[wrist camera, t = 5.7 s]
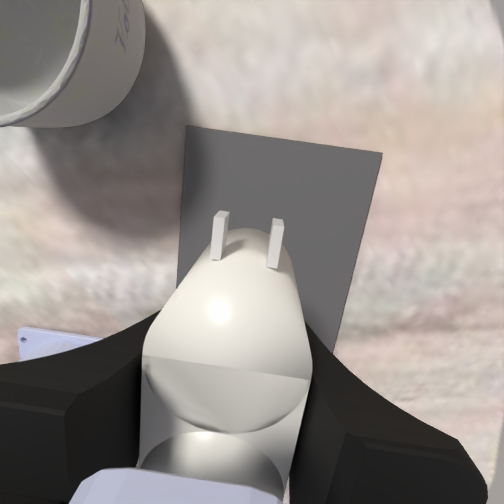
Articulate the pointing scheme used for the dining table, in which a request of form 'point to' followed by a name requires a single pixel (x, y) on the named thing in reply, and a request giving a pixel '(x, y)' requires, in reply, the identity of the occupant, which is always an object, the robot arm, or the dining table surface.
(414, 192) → the dining table surface
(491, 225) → the dining table surface
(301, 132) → the dining table surface
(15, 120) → the teacup
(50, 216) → the dining table surface
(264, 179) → the rubber mat
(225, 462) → the plug block
